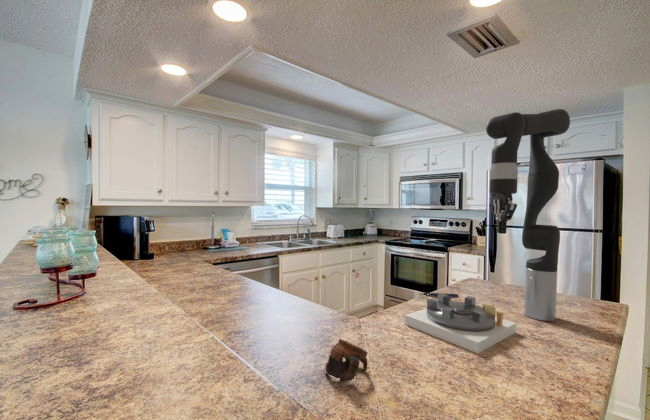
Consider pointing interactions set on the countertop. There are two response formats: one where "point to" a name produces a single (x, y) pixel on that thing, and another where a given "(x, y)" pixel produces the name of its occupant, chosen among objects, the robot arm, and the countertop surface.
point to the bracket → (441, 293)
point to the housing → (465, 339)
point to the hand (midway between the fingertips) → (501, 233)
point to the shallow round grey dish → (461, 314)
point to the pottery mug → (351, 362)
